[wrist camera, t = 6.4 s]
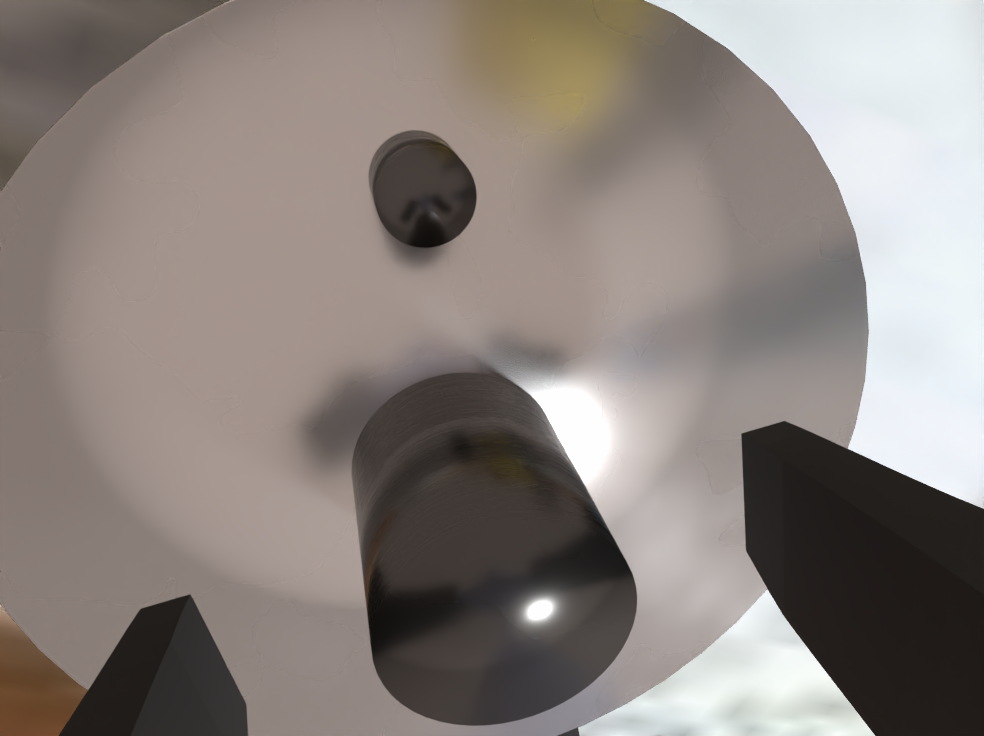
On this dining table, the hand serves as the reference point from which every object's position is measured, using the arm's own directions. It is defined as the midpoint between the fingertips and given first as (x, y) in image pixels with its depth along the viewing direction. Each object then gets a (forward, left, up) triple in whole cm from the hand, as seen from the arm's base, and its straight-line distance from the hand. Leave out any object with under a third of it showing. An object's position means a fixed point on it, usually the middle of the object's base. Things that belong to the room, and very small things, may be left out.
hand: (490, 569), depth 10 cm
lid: (0, 0, -3) cm, 3 cm away
